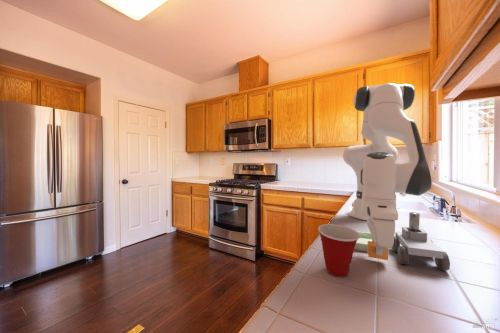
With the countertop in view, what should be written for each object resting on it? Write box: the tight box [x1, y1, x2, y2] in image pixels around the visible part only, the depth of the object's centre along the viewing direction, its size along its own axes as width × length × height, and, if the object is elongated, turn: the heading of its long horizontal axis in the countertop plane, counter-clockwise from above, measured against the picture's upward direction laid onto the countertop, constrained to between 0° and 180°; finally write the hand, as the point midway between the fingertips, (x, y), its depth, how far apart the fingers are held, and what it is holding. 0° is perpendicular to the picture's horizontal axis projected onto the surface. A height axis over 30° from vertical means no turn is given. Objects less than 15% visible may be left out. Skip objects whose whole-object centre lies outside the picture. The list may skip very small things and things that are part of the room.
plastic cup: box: [317, 223, 360, 278], centre depth 58 cm, size 11×11×12 cm
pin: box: [408, 211, 421, 232], centre depth 68 cm, size 3×3×8 cm
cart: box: [390, 226, 451, 272], centre depth 65 cm, size 14×11×8 cm
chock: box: [367, 241, 389, 261], centre depth 64 cm, size 5×4×4 cm
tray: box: [354, 230, 372, 253], centre depth 77 cm, size 13×10×2 cm
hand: (377, 250), depth 64 cm, fingers closed on chock, 4 cm apart
